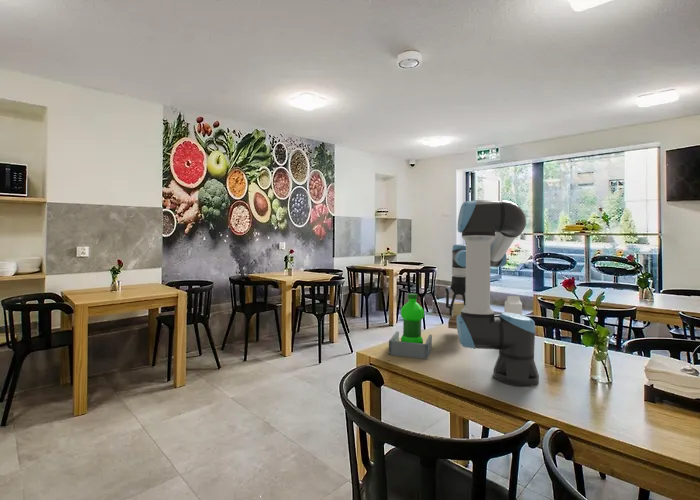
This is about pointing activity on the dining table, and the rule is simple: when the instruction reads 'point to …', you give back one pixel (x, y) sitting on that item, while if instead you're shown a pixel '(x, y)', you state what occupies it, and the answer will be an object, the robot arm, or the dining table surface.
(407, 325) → the plastic bottle
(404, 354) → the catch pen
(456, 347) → the dining table surface
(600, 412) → the dining table surface
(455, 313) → the scraper
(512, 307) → the milk
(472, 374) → the dining table surface
